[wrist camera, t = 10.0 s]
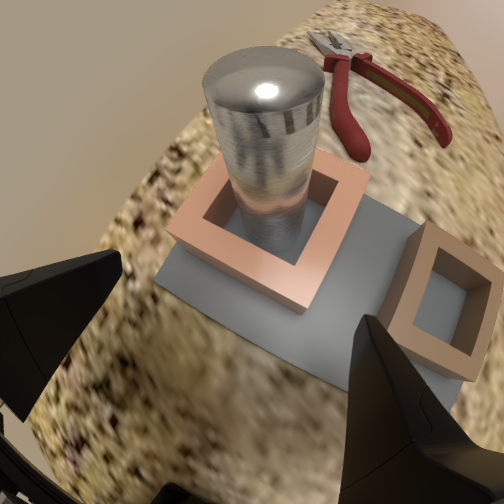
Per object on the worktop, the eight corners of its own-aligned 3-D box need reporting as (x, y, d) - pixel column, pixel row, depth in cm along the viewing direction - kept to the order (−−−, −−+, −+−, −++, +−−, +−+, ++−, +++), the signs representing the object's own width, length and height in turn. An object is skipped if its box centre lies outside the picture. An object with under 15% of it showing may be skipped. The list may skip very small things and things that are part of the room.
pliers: (356, 38, 27) (358, 22, 24) (450, 151, 20) (461, 135, 18) (273, 44, 27) (272, 27, 24) (350, 169, 21) (357, 149, 18)
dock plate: (433, 426, 14) (462, 440, 10) (159, 283, 19) (131, 268, 15) (488, 278, 16) (519, 264, 12) (247, 150, 21) (241, 115, 17)
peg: (303, 251, 17) (335, 113, 6) (244, 252, 18) (194, 120, 7) (299, 199, 18) (314, 46, 7) (245, 200, 19) (208, 51, 8)
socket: (301, 315, 16) (307, 308, 13) (184, 249, 18) (164, 229, 15) (357, 201, 18) (371, 173, 15) (250, 153, 20) (244, 121, 17)
